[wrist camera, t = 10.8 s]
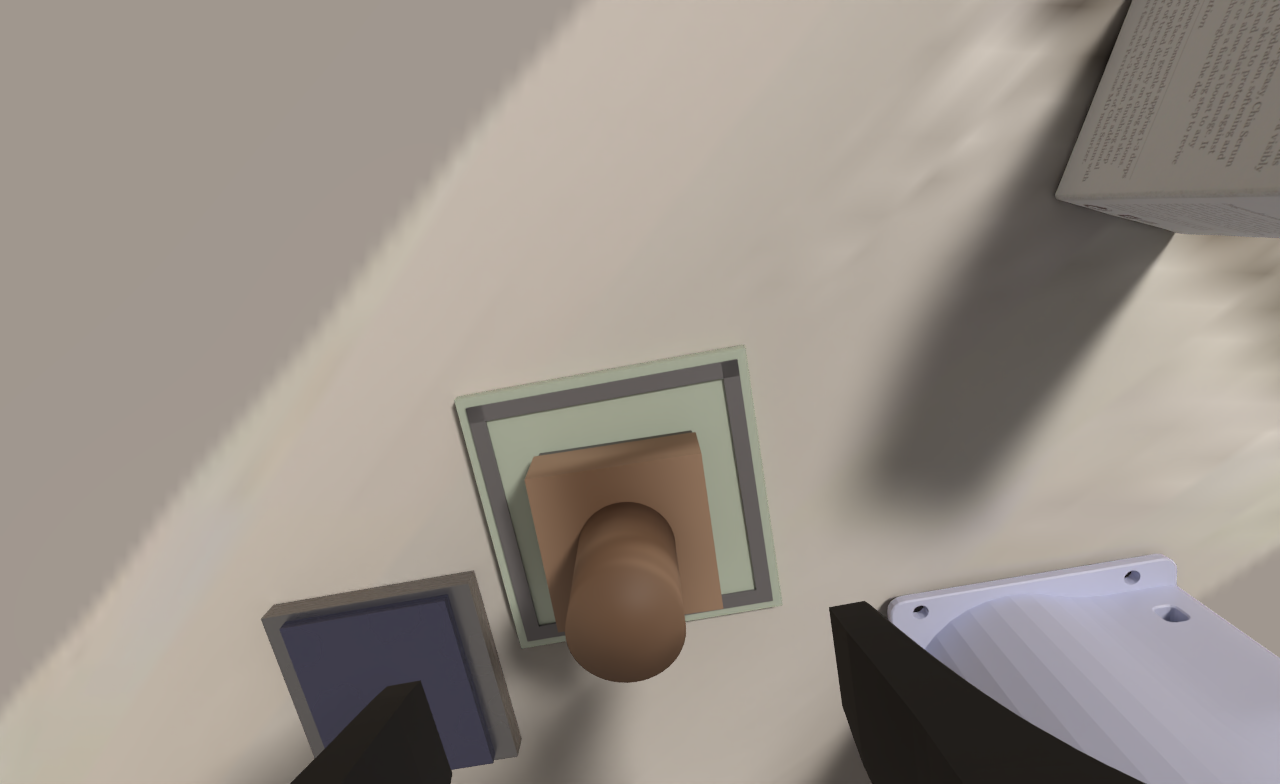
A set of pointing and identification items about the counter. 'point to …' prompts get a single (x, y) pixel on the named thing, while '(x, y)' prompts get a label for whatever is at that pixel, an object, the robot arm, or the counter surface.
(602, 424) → the pale green flat square
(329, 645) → the ink pad
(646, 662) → the stamp
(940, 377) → the counter surface
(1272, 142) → the skincare box
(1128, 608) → the robot arm
